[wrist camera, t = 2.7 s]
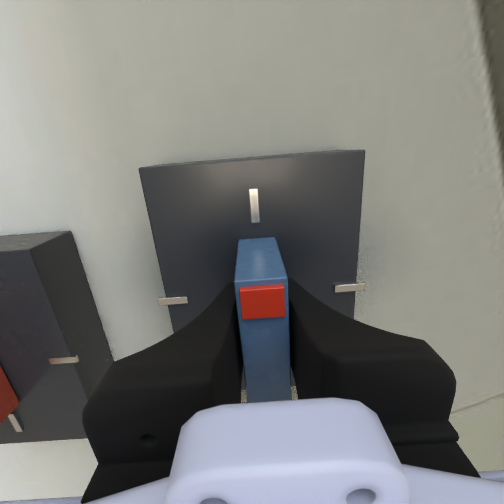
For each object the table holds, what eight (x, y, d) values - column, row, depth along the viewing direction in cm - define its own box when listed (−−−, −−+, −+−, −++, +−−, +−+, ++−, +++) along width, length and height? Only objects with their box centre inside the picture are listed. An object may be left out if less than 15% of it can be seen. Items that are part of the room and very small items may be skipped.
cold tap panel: (338, 345, 17) (357, 384, 15) (191, 355, 18) (179, 397, 15) (348, 149, 13) (376, 148, 10) (153, 164, 13) (127, 168, 10)
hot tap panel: (129, 394, 19) (107, 439, 16) (-7, 403, 19) (-54, 450, 16) (77, 229, 14) (33, 250, 12) (-98, 243, 15) (-185, 266, 12)
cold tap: (280, 340, 14) (293, 418, 10) (248, 342, 14) (248, 421, 10) (275, 236, 12) (289, 281, 8) (238, 239, 12) (233, 284, 8)
